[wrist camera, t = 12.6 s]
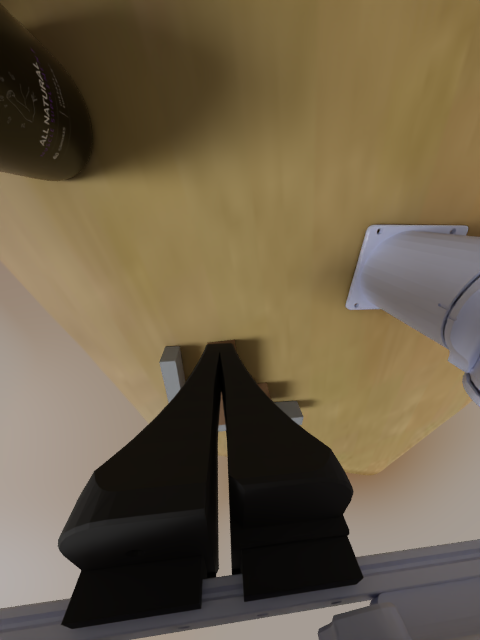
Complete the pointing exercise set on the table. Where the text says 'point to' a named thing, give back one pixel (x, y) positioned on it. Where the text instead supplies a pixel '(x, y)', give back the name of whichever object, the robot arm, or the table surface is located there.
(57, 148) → the supplement bottle
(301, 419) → the gray l-shaped block
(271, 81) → the table surface
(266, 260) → the table surface
